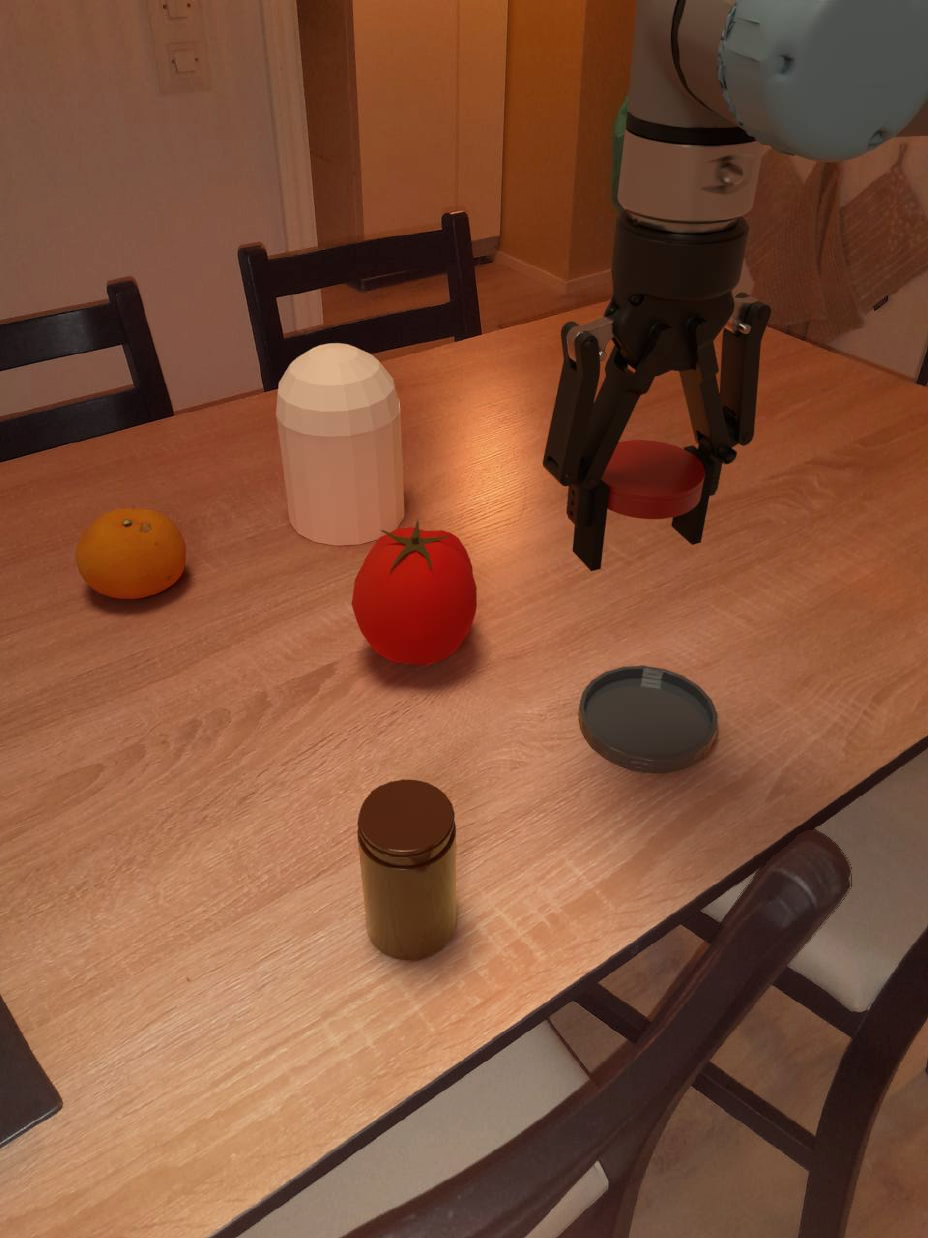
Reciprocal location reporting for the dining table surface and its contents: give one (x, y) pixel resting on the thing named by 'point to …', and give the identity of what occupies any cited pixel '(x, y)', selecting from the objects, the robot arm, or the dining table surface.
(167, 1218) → the dining table surface
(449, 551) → the tomato
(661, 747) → the saucer
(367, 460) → the container
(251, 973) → the dining table surface
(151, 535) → the fruit
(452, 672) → the dining table surface
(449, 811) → the jar
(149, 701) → the dining table surface
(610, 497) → the lid
